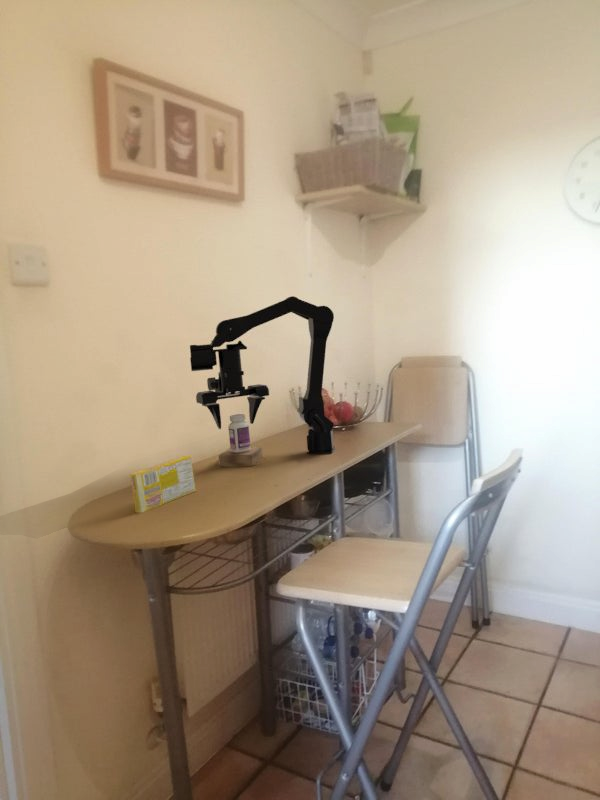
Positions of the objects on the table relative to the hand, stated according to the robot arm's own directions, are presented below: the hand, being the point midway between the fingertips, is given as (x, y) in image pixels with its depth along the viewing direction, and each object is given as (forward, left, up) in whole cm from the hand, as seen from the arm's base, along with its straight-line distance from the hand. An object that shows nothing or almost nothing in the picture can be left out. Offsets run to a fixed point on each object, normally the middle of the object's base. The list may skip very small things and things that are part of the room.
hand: (235, 426), depth 164 cm
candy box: (+5, +35, -10) cm, 37 cm away
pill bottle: (-1, +1, -7) cm, 7 cm away
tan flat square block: (-1, +1, -10) cm, 10 cm away
